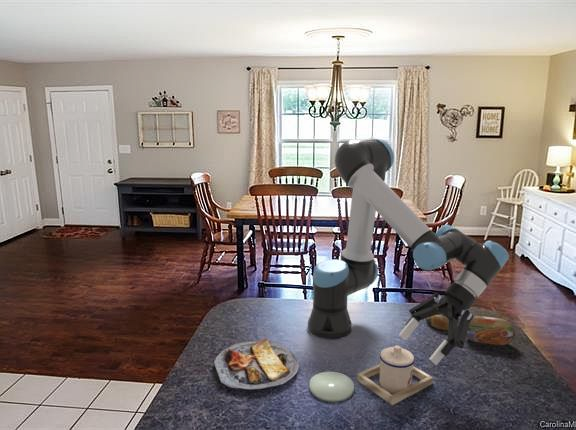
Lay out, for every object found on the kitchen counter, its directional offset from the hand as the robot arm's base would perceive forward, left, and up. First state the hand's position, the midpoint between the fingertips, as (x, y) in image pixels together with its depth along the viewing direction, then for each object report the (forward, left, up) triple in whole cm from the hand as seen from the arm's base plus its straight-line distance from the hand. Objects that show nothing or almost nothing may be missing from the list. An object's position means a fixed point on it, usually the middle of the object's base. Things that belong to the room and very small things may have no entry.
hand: (416, 349), depth 119 cm
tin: (-1, +37, -10) cm, 38 cm away
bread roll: (-17, +35, -10) cm, 40 cm away
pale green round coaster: (-11, -21, -10) cm, 25 cm away
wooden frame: (-3, -5, -10) cm, 11 cm away
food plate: (-31, -33, -10) cm, 46 cm away
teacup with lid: (-3, -5, -10) cm, 11 cm away
